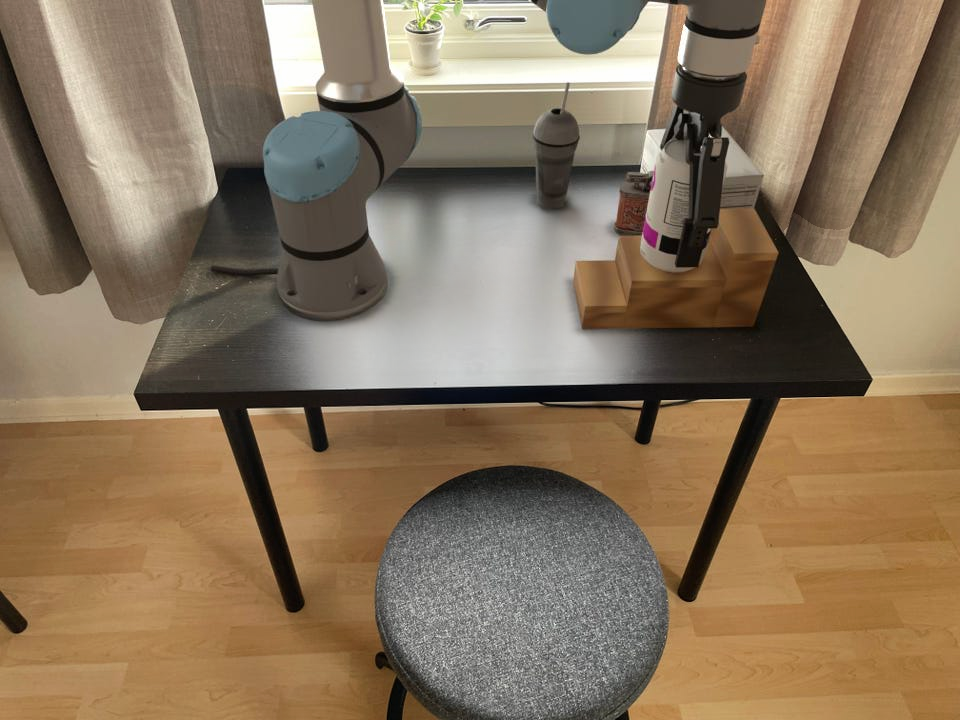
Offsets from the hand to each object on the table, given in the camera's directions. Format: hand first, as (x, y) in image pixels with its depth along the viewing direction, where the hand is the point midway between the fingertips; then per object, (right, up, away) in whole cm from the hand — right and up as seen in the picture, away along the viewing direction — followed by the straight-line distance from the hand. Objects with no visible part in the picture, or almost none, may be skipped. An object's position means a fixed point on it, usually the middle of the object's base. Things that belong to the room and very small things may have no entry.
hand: (674, 236), depth 94 cm
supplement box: (+10, +10, +27) cm, 30 cm away
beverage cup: (-13, +10, +27) cm, 32 cm away
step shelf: (0, -8, +8) cm, 11 cm away
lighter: (0, +4, +21) cm, 21 cm away
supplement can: (0, -2, +2) cm, 3 cm away
